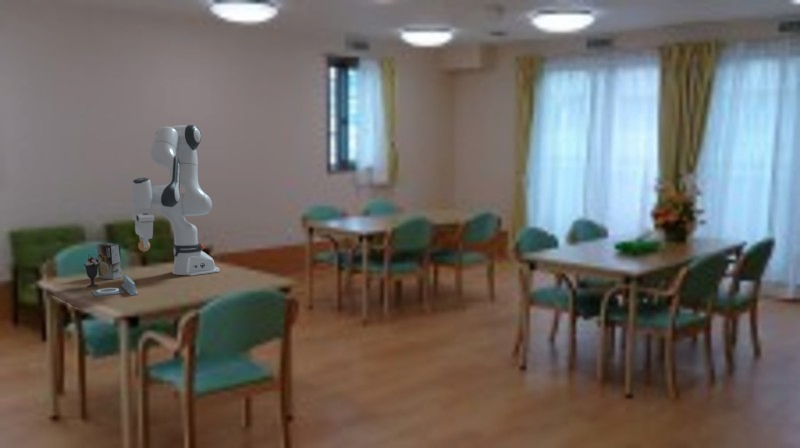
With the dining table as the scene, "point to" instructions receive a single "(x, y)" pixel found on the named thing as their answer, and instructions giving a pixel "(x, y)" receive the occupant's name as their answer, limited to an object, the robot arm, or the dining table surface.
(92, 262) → the sundae
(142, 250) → the ball
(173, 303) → the dining table surface
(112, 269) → the coffee box
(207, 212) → the robot arm
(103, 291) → the mat
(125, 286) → the low wall
